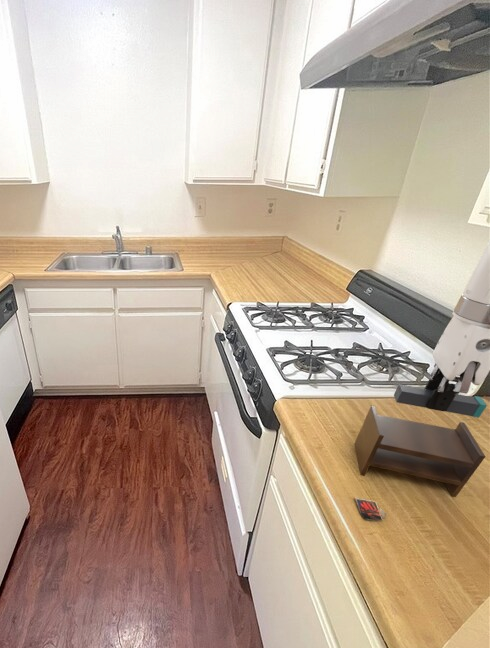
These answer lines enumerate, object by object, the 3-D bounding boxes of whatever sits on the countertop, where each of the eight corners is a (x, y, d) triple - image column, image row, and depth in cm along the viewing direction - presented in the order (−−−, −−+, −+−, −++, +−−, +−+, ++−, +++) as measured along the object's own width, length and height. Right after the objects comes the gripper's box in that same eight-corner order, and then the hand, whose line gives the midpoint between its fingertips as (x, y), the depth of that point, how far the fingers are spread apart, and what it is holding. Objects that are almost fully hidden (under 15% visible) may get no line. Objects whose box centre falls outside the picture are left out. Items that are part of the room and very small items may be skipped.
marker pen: (472, 409, 64) (480, 396, 63) (478, 417, 62) (487, 405, 61) (393, 394, 68) (399, 382, 66) (396, 402, 65) (402, 390, 64)
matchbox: (365, 522, 62) (366, 520, 62) (350, 498, 66) (350, 497, 66) (389, 520, 62) (390, 519, 62) (373, 497, 66) (373, 495, 66)
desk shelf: (439, 461, 75) (464, 422, 69) (455, 497, 67) (485, 456, 61) (354, 443, 79) (371, 405, 73) (360, 475, 71) (379, 435, 65)
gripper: (542, 334, 47) (472, 435, 57) (490, 297, 60) (441, 385, 70) (477, 326, 49) (421, 425, 59) (441, 292, 62) (400, 378, 72)
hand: (433, 403), depth 65 cm, fingers closed on marker pen, 2 cm apart
